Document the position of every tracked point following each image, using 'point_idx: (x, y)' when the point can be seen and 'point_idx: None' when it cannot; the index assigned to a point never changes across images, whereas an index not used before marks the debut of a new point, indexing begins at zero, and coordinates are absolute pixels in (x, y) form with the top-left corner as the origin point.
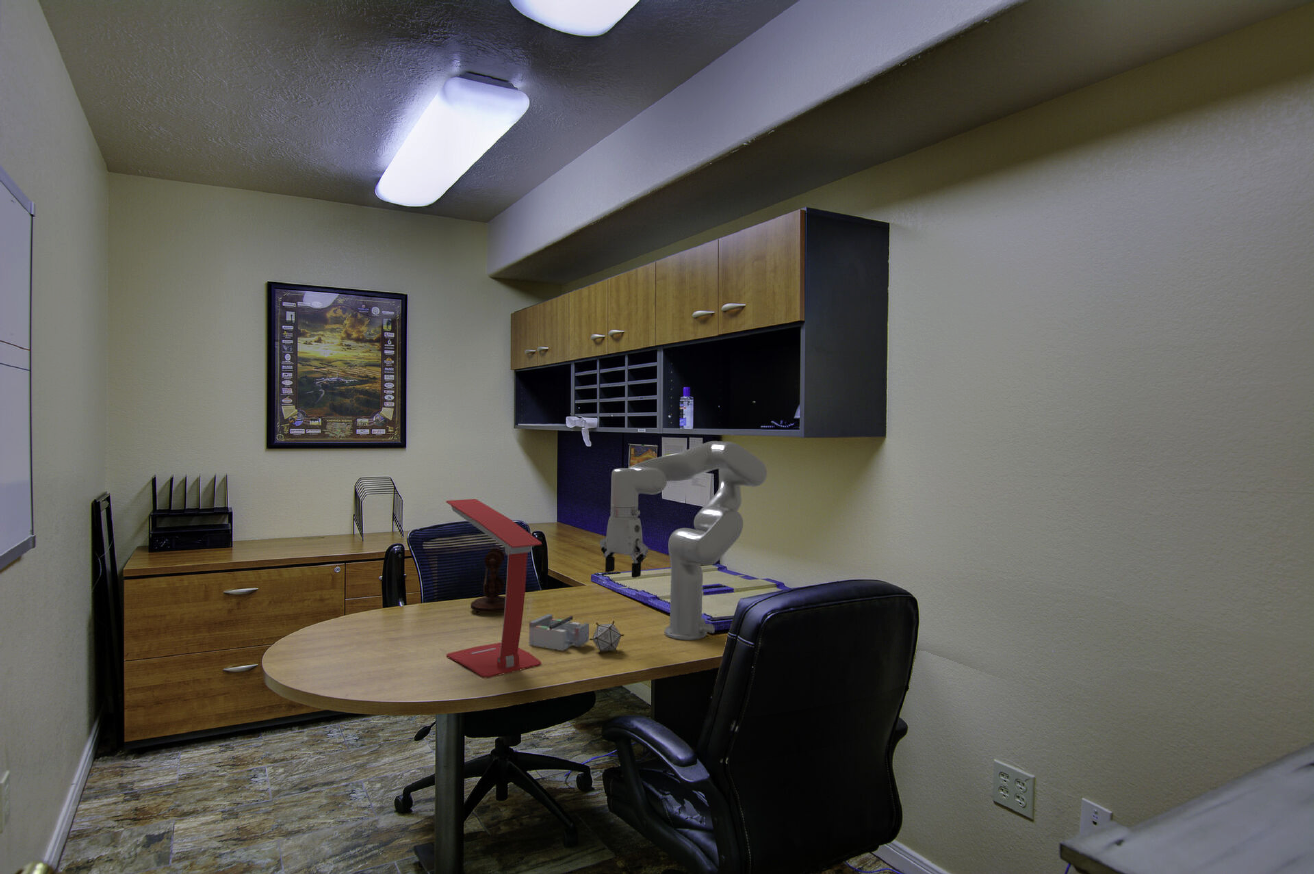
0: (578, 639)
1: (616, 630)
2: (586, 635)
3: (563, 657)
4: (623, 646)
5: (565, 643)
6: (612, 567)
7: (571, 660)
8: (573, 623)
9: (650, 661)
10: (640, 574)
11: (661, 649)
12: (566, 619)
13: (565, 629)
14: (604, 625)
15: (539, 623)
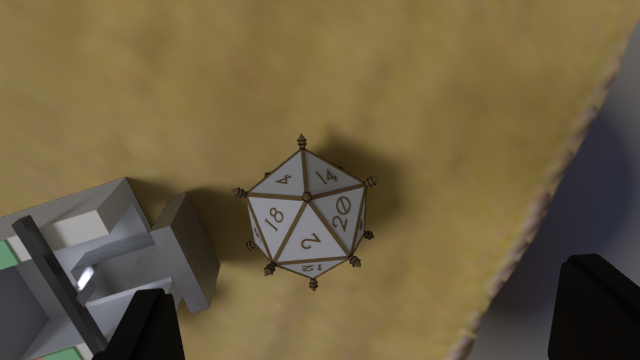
0: (216, 280)
1: (349, 206)
2: (190, 222)
3: (243, 327)
4: (306, 95)
5: (171, 290)
6: (166, 350)
7: (286, 326)
8: (80, 237)
9: (505, 150)
10: (602, 262)
11: (458, 3)
12: (56, 276)
13: (91, 268)
14: (301, 249)
15: (4, 355)
